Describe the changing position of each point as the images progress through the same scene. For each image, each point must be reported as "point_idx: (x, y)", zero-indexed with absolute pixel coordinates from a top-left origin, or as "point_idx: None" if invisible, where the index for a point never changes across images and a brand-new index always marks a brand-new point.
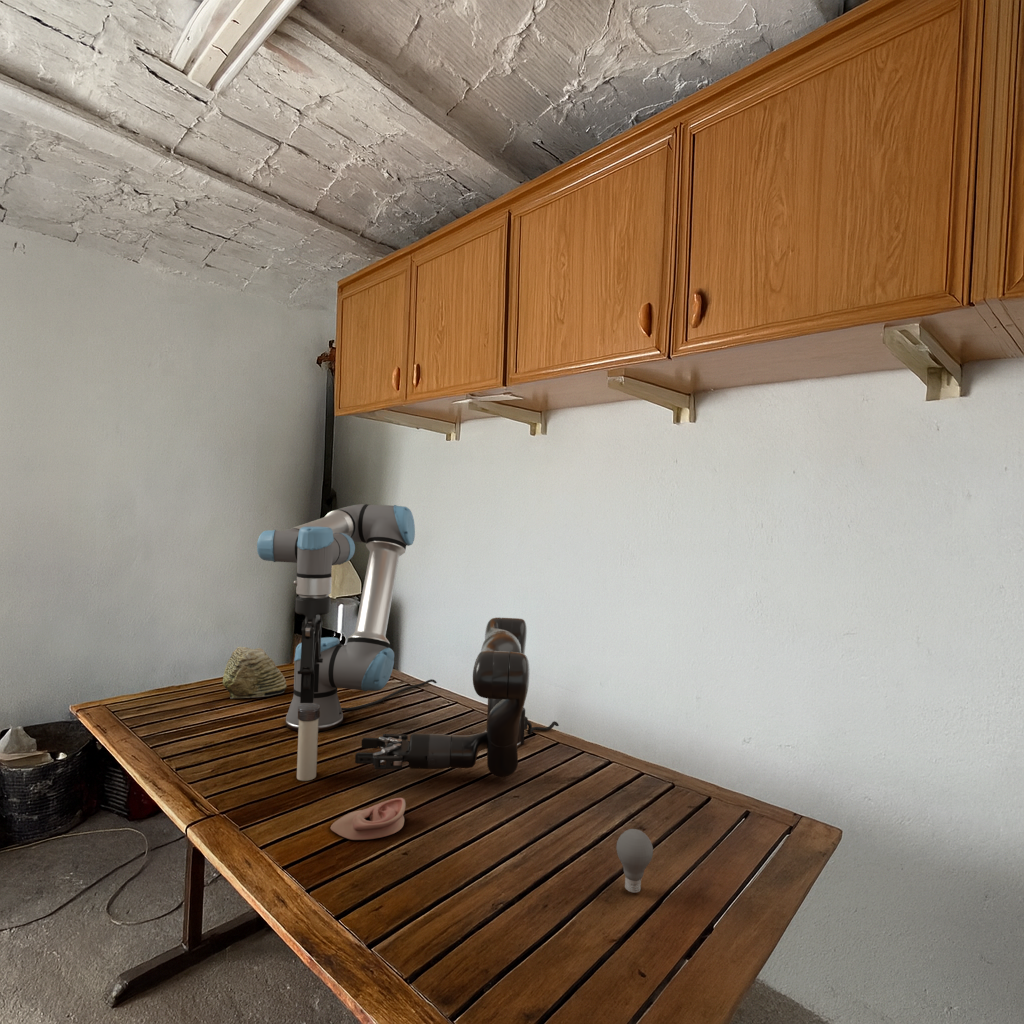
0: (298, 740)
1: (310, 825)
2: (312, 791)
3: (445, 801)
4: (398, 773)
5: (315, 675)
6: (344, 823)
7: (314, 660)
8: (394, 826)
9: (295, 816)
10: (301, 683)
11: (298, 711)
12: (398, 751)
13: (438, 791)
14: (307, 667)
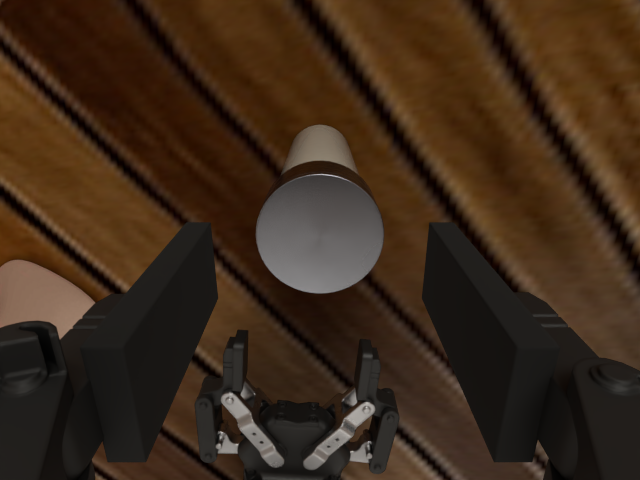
0: (299, 151)
1: (30, 209)
2: (220, 187)
3: (178, 468)
4: (325, 385)
5: (459, 353)
6: (1, 297)
7: (563, 448)
8: None
9: (70, 164)
10: (133, 292)
11: (290, 177)
12: (252, 452)
13: (225, 458)
14: (497, 333)
